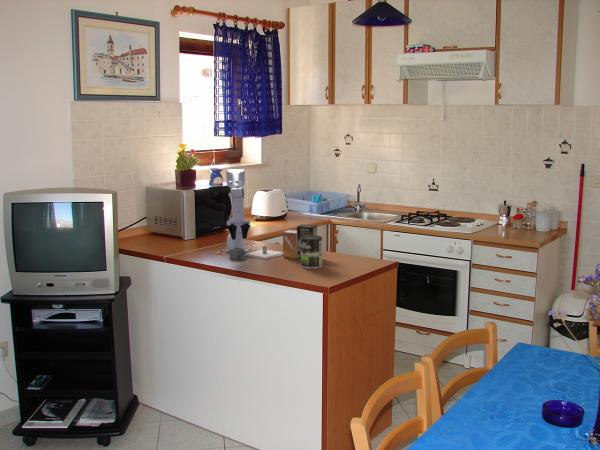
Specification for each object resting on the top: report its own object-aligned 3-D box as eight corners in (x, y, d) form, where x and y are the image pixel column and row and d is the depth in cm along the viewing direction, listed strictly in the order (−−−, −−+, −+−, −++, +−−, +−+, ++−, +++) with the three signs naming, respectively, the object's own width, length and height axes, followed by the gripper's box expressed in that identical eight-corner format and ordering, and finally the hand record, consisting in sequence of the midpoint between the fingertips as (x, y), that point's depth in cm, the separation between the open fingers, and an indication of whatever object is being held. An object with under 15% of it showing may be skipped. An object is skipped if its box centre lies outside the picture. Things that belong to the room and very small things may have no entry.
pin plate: (245, 256, 352) (245, 246, 351) (264, 251, 362) (263, 241, 362) (265, 259, 343) (265, 249, 342) (284, 254, 354) (283, 244, 353)
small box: (282, 257, 348) (282, 231, 346) (289, 254, 353) (289, 229, 351) (296, 258, 343) (296, 233, 341) (303, 256, 349) (302, 231, 347)
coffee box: (296, 257, 345) (295, 226, 342) (301, 255, 350) (300, 224, 348) (313, 259, 341) (313, 227, 338) (318, 256, 347) (317, 225, 344)
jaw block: (229, 258, 346) (229, 249, 345) (237, 257, 350) (236, 247, 349) (241, 261, 341) (240, 251, 340) (248, 259, 344) (248, 249, 344)
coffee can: (311, 270, 320) (311, 240, 317) (296, 266, 327) (295, 237, 324) (327, 266, 327) (326, 236, 324) (311, 263, 334) (311, 234, 332)
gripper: (233, 212, 336) (234, 239, 336) (254, 211, 347) (255, 238, 347) (223, 212, 340) (224, 239, 340) (244, 211, 351) (245, 238, 351)
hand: (239, 239), depth 344 cm, fingers open, 7 cm apart
